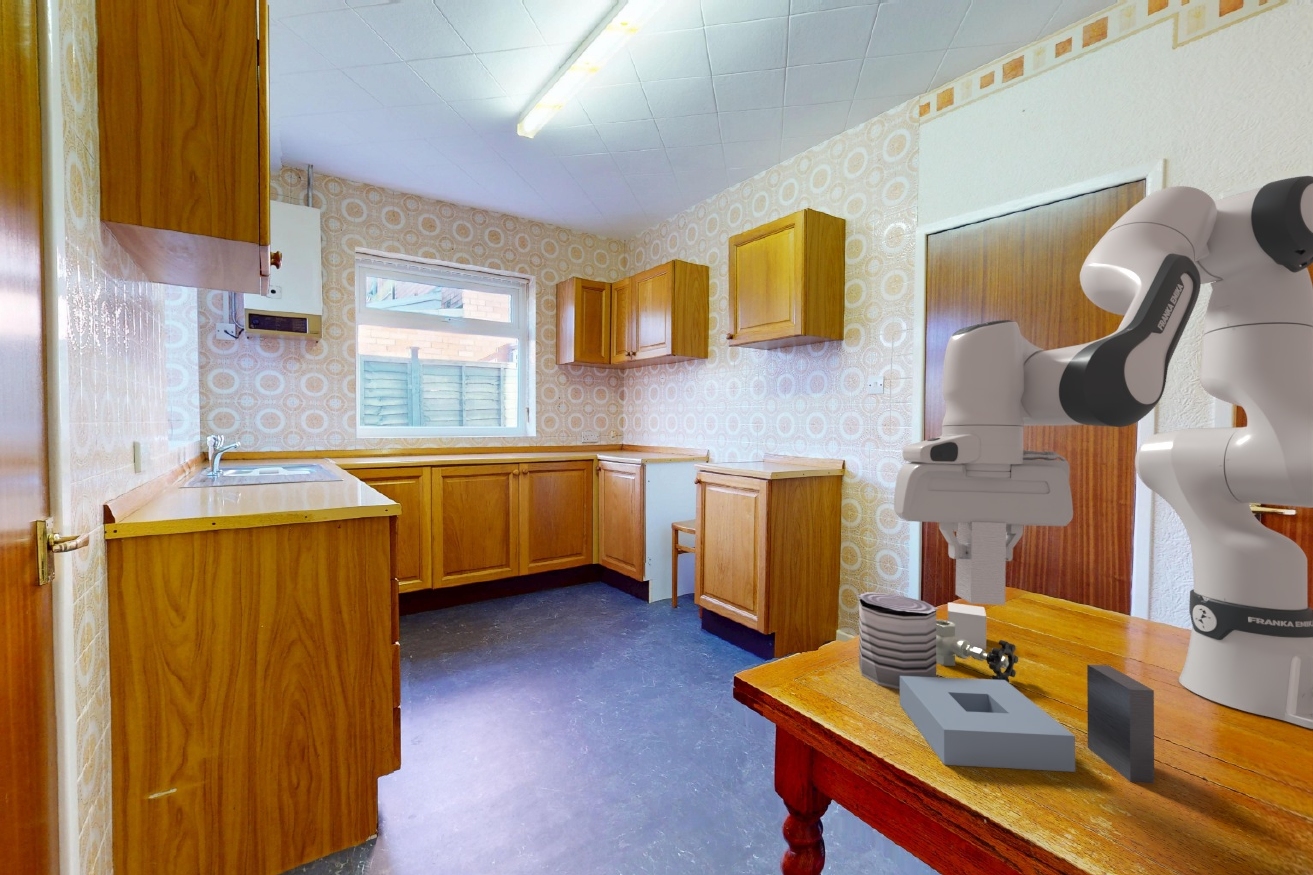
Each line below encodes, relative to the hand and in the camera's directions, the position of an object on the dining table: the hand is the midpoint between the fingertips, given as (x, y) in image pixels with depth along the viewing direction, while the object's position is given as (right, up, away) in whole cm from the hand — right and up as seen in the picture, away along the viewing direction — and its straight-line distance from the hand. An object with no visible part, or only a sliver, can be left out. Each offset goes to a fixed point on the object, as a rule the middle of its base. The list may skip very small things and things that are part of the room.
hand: (979, 559), depth 67 cm
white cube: (+17, -23, +31) cm, 42 cm away
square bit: (0, -5, 0) cm, 5 cm away
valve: (+9, -23, +19) cm, 31 cm away
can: (-3, -22, +17) cm, 28 cm away
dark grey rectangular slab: (+12, -22, -6) cm, 26 cm away
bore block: (0, -22, 0) cm, 22 cm away
